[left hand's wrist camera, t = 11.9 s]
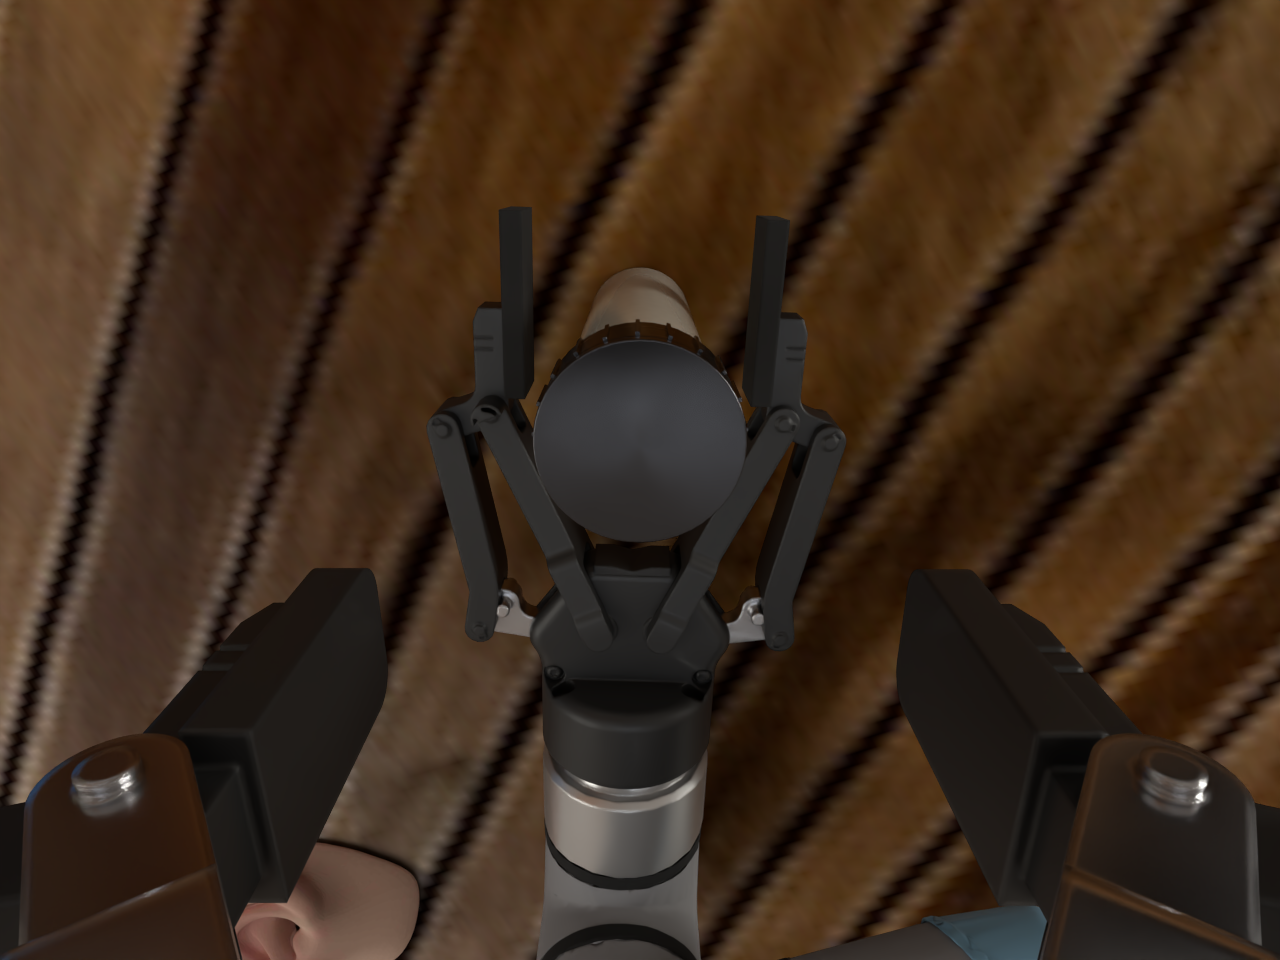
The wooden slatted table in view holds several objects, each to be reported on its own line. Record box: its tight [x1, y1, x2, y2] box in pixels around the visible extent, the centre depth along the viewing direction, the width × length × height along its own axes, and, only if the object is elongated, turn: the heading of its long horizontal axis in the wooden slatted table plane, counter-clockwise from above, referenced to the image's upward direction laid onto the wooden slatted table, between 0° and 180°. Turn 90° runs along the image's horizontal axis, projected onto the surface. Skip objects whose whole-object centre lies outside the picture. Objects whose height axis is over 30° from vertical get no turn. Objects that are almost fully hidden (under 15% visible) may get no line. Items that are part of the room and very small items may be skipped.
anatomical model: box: [235, 842, 419, 960], centre depth 46 cm, size 13×4×12 cm
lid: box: [532, 319, 748, 542], centre depth 20 cm, size 5×5×2 cm
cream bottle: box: [580, 268, 701, 342], centre depth 27 cm, size 4×4×17 cm
